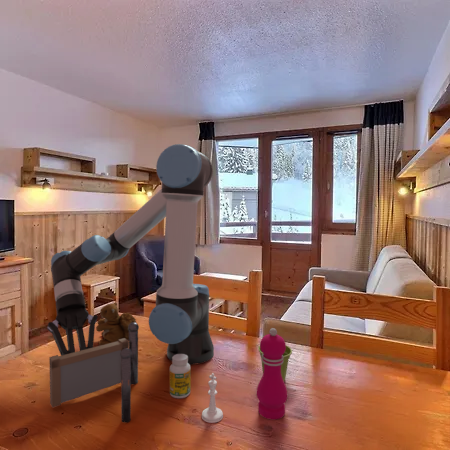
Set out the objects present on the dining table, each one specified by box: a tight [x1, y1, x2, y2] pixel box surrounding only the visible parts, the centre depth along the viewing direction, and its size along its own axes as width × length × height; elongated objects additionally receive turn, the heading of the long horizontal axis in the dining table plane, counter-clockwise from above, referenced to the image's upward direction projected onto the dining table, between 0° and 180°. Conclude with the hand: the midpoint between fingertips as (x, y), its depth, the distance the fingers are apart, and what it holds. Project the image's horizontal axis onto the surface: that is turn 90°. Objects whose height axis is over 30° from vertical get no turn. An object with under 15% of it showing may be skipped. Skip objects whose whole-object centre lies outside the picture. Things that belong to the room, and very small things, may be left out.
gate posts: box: [120, 322, 140, 424], centre depth 84 cm, size 4×19×17 cm, turn 4°
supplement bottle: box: [169, 354, 192, 399], centre depth 87 cm, size 5×5×10 cm
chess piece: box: [201, 372, 224, 424], centre depth 78 cm, size 5×5×10 cm
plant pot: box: [257, 345, 293, 382], centre depth 95 cm, size 9×9×9 cm
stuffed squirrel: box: [95, 302, 137, 346], centre depth 121 cm, size 10×14×13 cm
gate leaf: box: [48, 338, 129, 408], centre depth 85 cm, size 19×2×11 cm, turn 131°
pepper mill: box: [256, 327, 288, 421], centre depth 79 cm, size 7×7×20 cm
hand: (81, 380), depth 85 cm, fingers closed
